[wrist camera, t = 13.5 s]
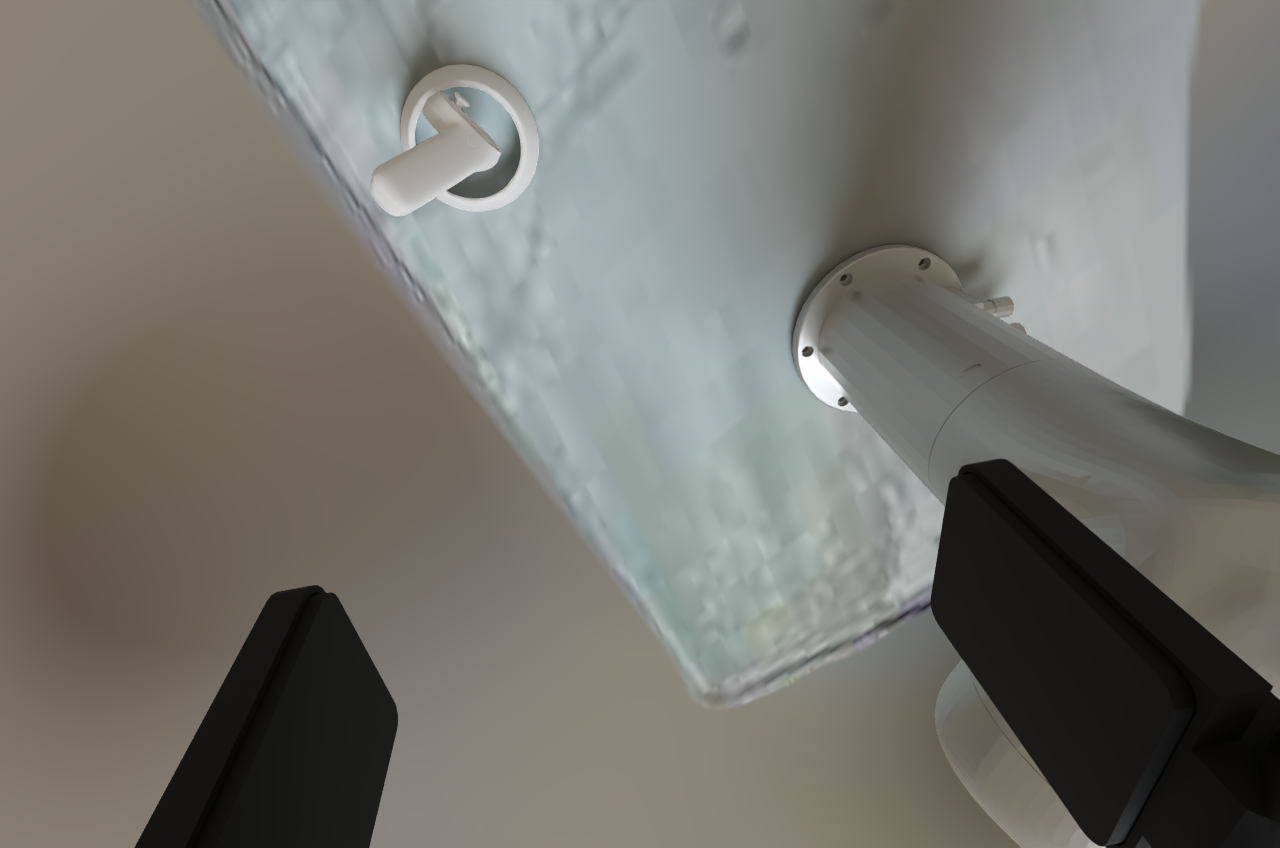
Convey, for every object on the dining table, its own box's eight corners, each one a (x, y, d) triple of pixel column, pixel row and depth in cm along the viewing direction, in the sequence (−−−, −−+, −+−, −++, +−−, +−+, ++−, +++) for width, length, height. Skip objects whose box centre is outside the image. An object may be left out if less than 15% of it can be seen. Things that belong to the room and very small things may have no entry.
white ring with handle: (275, 200, 30) (298, 100, 25) (427, 113, 38) (469, 22, 33) (395, 308, 32) (440, 236, 27) (518, 206, 40) (572, 133, 35)
